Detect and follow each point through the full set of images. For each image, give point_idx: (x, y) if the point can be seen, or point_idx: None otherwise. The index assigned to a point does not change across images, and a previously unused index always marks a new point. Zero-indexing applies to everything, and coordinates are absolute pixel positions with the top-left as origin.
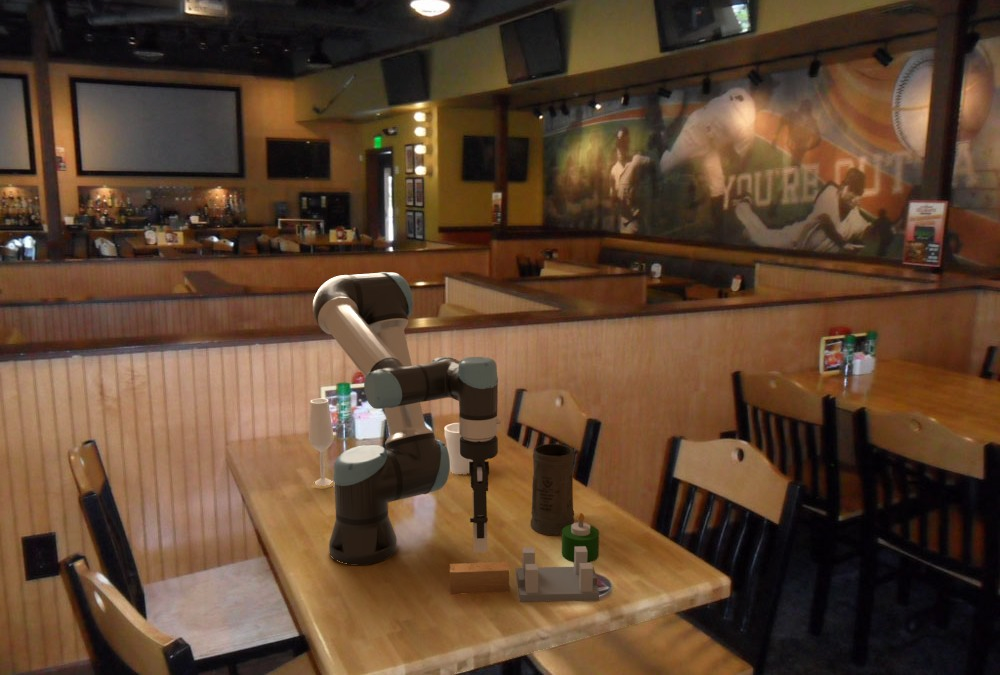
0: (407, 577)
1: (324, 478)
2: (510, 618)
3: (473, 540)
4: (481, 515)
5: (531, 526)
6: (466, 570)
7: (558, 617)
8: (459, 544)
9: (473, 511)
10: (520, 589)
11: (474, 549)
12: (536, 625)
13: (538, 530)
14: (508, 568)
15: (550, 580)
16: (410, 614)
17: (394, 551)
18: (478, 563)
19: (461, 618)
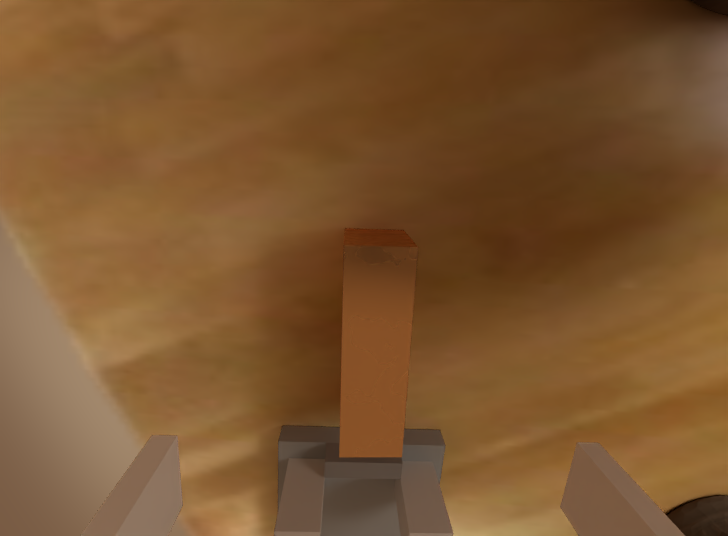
0: (486, 67)
1: None
2: (194, 394)
3: (100, 509)
4: (597, 531)
5: (716, 498)
6: (354, 312)
7: (201, 504)
8: (683, 275)
9: (635, 517)
10: (310, 446)
11: (140, 456)
12: None
13: (680, 515)
14: (353, 456)
15: (354, 523)
16: (216, 77)
17: (705, 2)
18: (405, 360)
19: (192, 257)
